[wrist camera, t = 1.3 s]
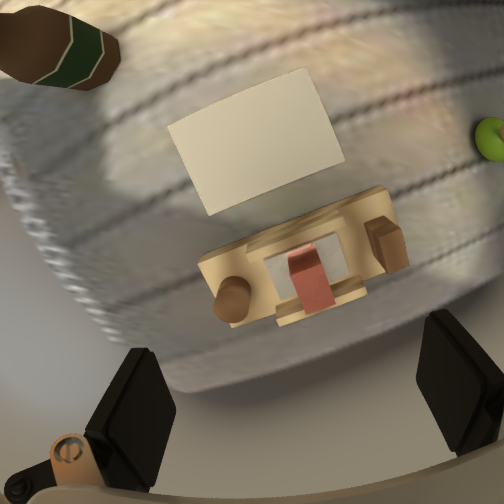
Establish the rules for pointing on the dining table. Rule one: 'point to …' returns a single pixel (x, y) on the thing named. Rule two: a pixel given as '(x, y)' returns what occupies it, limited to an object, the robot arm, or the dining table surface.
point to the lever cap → (308, 271)
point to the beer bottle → (55, 49)
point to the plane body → (296, 232)
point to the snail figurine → (491, 138)
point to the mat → (256, 140)
